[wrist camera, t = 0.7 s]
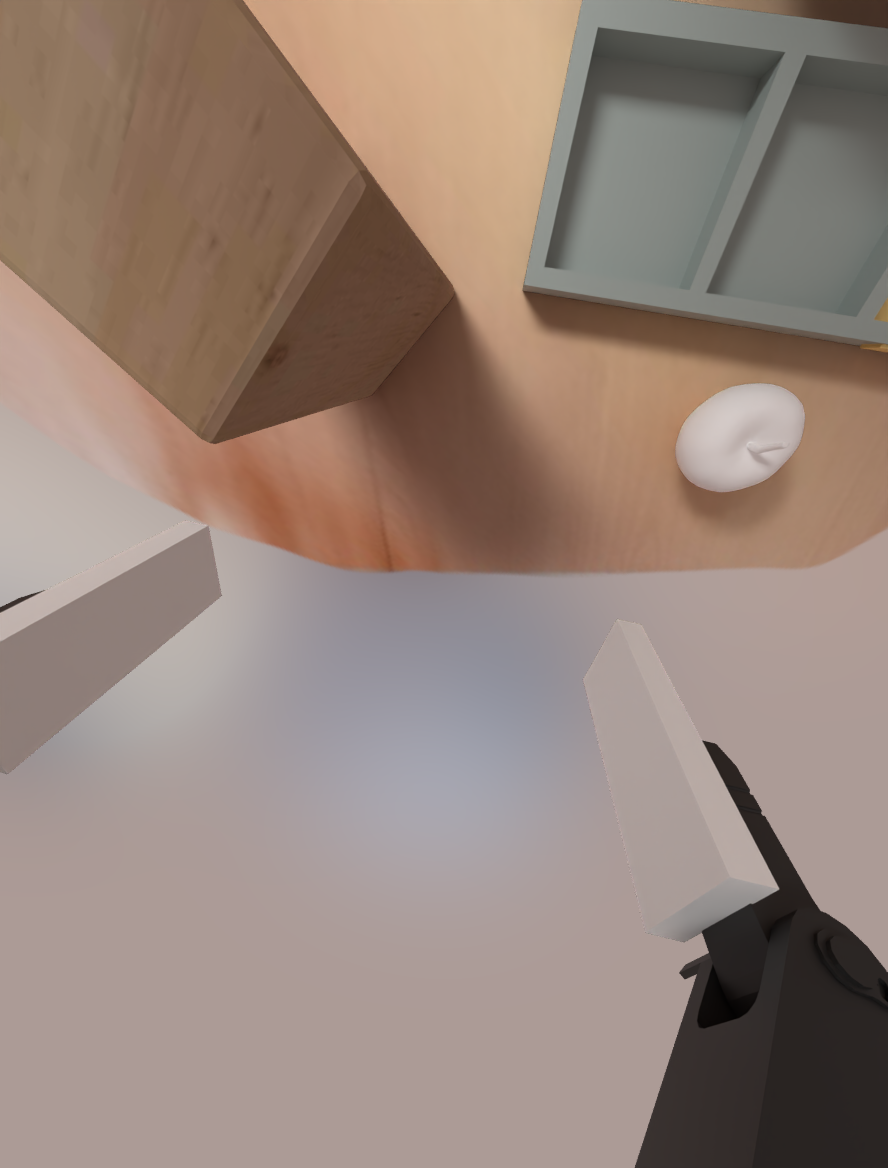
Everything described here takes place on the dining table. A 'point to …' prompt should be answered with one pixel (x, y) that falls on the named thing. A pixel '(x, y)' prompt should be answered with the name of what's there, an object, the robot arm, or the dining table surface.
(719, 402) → the plain white apple
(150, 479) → the dining table surface
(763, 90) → the grey-green compartment tray
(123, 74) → the wooden block
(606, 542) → the dining table surface
